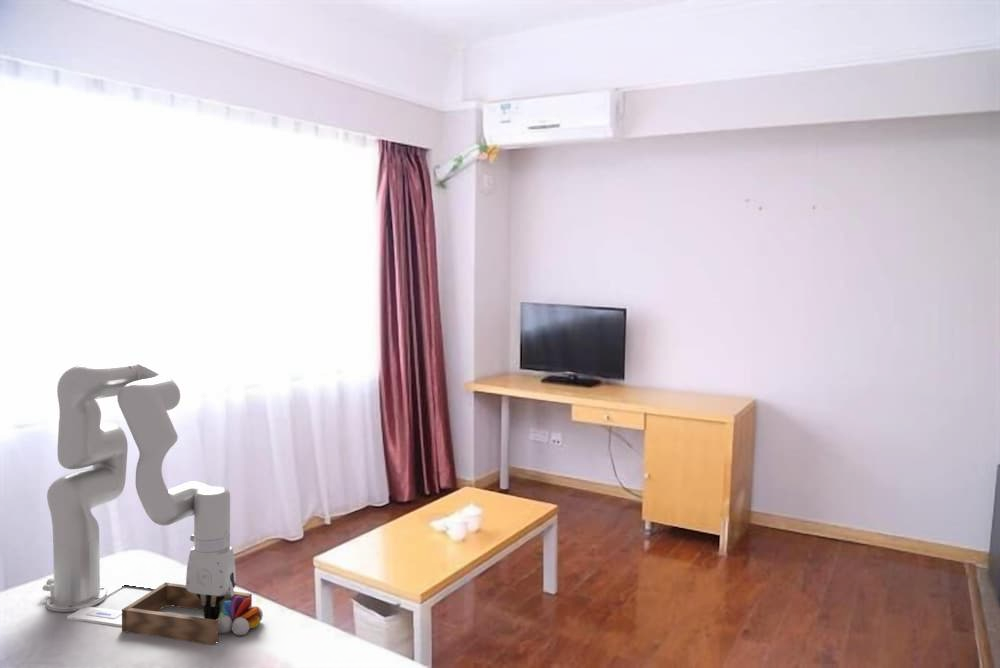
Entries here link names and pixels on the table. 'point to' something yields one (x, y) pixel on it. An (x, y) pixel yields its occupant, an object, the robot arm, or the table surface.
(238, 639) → the table surface
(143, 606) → the u-shaped wooden frame
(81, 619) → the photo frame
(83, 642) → the table surface
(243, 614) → the rainbow roller toy
